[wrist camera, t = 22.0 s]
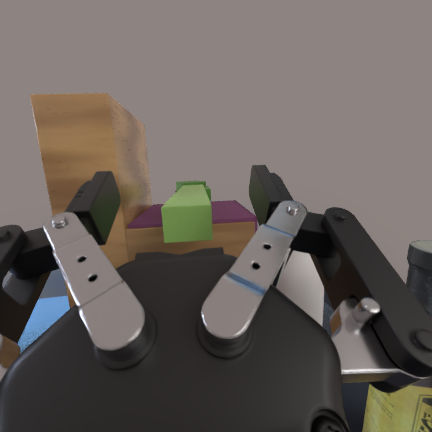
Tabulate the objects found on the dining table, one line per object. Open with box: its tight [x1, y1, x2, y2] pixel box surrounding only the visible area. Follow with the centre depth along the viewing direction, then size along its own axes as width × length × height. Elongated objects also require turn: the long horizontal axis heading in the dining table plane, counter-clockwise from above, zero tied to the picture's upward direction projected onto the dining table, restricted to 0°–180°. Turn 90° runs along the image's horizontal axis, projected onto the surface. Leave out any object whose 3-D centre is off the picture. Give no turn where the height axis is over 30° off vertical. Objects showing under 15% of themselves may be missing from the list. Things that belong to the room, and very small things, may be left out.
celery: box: [161, 181, 213, 243], centre depth 28 cm, size 27×6×3 cm, turn 5°
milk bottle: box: [277, 211, 324, 326], centre depth 30 cm, size 8×8×20 cm
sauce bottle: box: [362, 240, 432, 432], centre depth 17 cm, size 6×6×20 cm
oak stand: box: [30, 93, 255, 309], centre depth 28 cm, size 13×18×32 cm
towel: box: [128, 200, 257, 232], centre depth 28 cm, size 12×12×10 cm
